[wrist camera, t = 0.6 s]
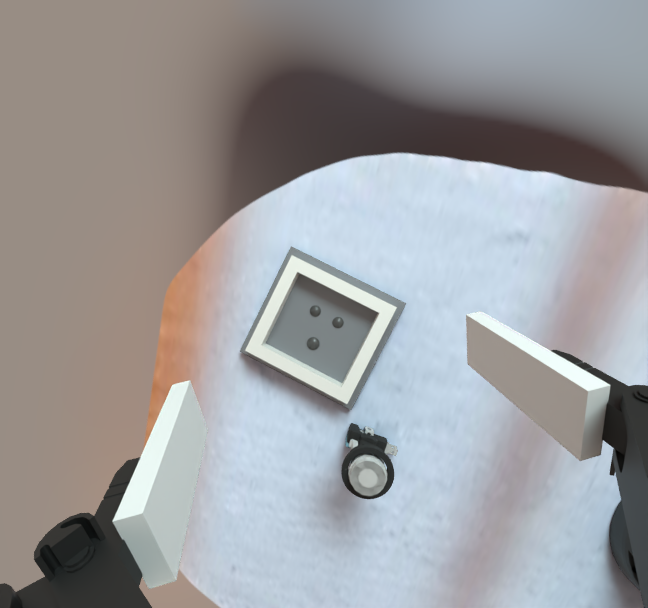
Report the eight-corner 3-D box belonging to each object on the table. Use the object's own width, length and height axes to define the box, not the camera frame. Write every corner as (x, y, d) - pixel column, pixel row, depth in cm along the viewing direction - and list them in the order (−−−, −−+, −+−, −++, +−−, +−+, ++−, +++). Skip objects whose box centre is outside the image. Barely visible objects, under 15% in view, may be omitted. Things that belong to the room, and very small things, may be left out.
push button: (402, 428, 44) (415, 467, 34) (388, 467, 44) (398, 517, 34) (351, 411, 44) (350, 444, 34) (339, 449, 45) (334, 493, 35)
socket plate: (404, 303, 44) (408, 303, 41) (351, 407, 44) (350, 415, 41) (292, 247, 45) (288, 243, 42) (242, 350, 46) (234, 354, 43)
